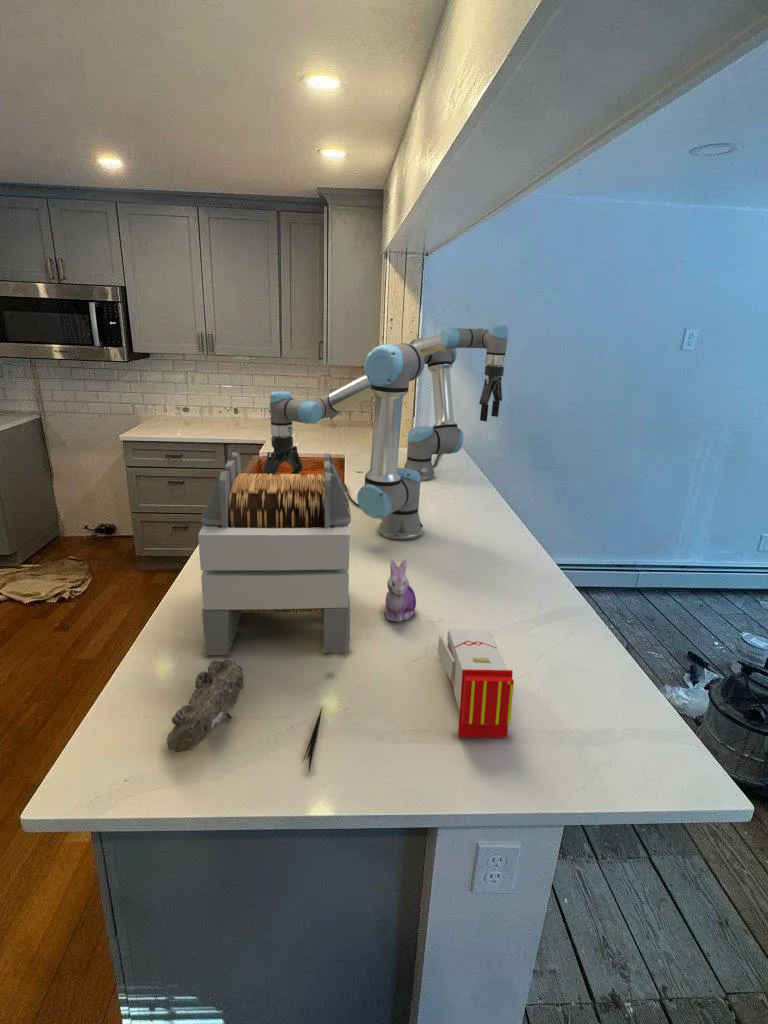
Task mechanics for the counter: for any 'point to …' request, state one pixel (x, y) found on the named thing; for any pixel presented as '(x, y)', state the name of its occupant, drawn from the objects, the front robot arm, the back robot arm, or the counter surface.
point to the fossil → (206, 705)
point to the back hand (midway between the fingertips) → (489, 418)
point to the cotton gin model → (275, 551)
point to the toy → (478, 682)
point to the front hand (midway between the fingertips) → (284, 492)
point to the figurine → (399, 594)
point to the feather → (313, 740)
